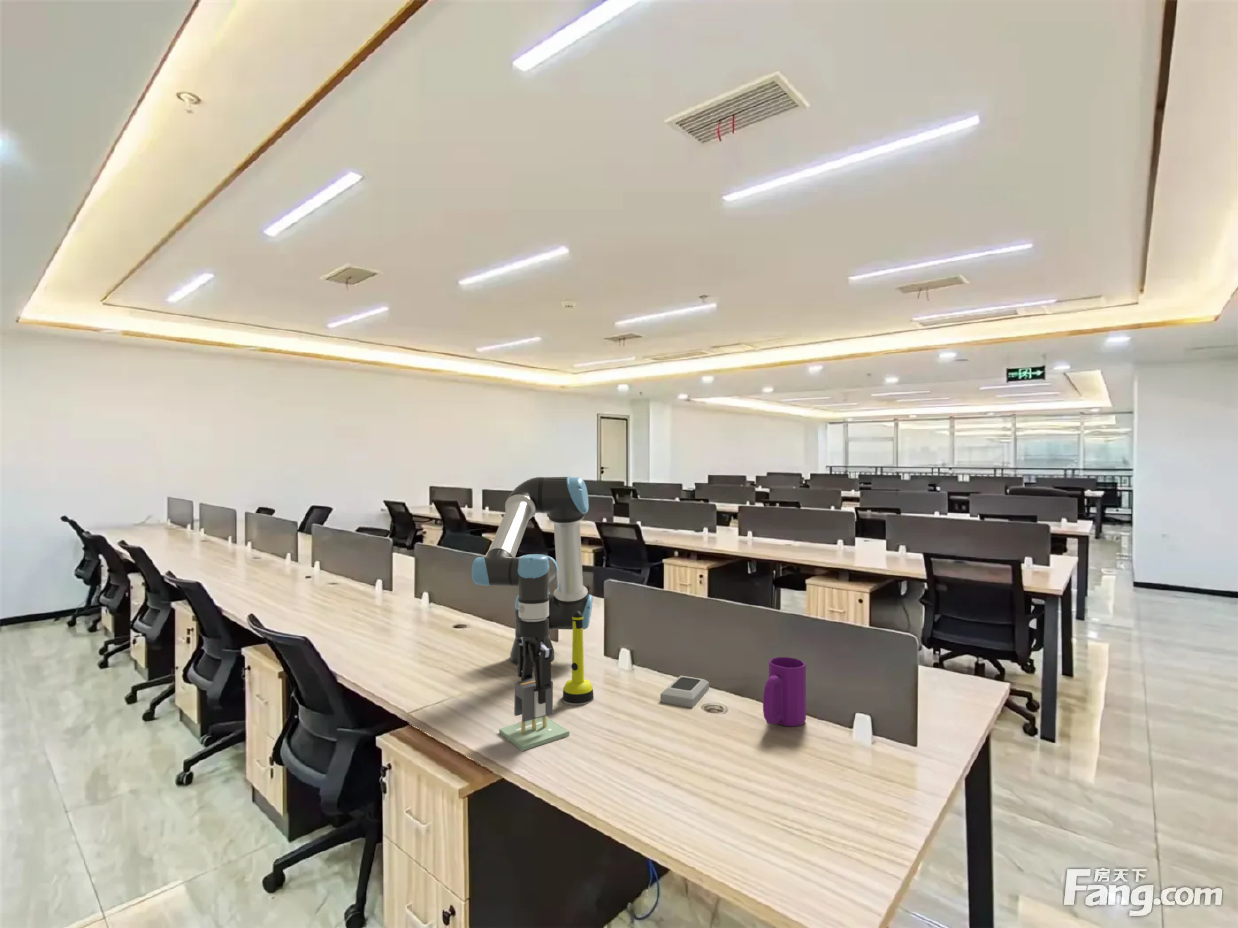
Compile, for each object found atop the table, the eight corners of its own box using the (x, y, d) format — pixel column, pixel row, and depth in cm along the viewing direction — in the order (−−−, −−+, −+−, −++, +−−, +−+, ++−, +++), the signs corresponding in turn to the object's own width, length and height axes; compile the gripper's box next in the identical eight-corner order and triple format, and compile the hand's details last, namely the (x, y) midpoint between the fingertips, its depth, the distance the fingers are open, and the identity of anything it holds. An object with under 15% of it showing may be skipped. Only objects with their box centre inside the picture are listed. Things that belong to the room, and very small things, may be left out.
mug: (812, 719, 154) (811, 662, 155) (782, 739, 143) (782, 677, 143) (780, 709, 161) (779, 654, 161) (749, 728, 150) (749, 668, 150)
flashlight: (575, 606, 175) (555, 612, 168) (599, 610, 170) (580, 616, 163) (576, 690, 175) (555, 700, 168) (600, 697, 170) (580, 707, 163)
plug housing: (543, 707, 151) (543, 675, 151) (552, 714, 147) (552, 681, 147) (514, 715, 146) (514, 681, 147) (523, 721, 142) (523, 687, 142)
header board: (544, 719, 156) (544, 703, 156) (569, 735, 146) (569, 719, 146) (499, 732, 148) (499, 716, 148) (522, 751, 138) (522, 733, 138)
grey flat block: (660, 690, 167) (678, 673, 180) (660, 703, 167) (678, 685, 180) (692, 695, 163) (709, 678, 176) (692, 709, 163) (709, 690, 176)
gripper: (503, 613, 152) (503, 704, 152) (538, 628, 138) (539, 728, 137) (529, 608, 156) (529, 697, 156) (566, 622, 142) (566, 720, 142)
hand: (534, 711), depth 147 cm, fingers closed on plug housing, 5 cm apart
